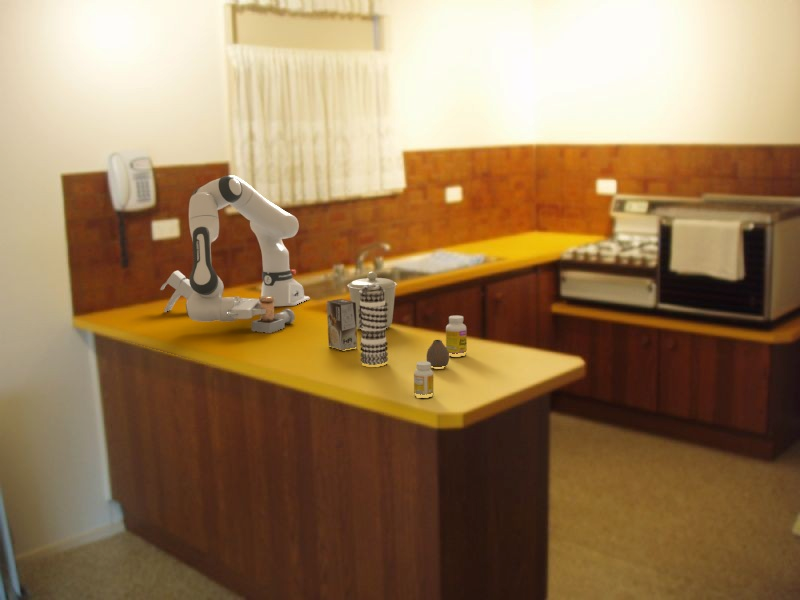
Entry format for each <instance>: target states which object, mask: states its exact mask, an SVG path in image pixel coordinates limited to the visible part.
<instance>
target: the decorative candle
mask: <svg viewBox="0 0 800 600" xmlns="http://www.w3.org/2000/svg"><path fill="white" fill-rule="evenodd" d="M359 292H360V294H361V300H360V306H359V307H360V309H359V310H358V312H359V313H360V314H359V318H360V319H361V320H360V321H359V324H361V325H360V329H361V330H360V329H359V330H360V331H361V336H360V337H361V338H360V340H361V341H360V344H359V345H360V346H361V347H360V351H361V353H360V362H361V363H364V364H368V365H377V364H382V363H385V362H388V360H389V359H388V356H389V355H388V352H387V351H388V341H387V336H386V330H387V329H388V328H387V326H386V325H385V323H386V322H387V319H385V318H386V317H387V314H385V313H384V311H385V312H386V311H387V310H388V309H387V308H384V307H385V306H387V305H388V304H387V303H385V296H384V292H385V290H383V288H382V287H381V286H379V285H366V286H364V287H363V288H362V289H361V290H360V291H359ZM361 315H362V316H361ZM386 328H387V329H386Z"/></svg>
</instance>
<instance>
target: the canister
mask: <svg viewBox="0 0 800 600" xmlns="http://www.w3.org/2000/svg"><path fill="white" fill-rule="evenodd" d="M366 276H367V277H366V278H364V277H363V278H359V279H354V280H353V281H351V282H350V283H348V284H347V288H348V289H349V295H350V296H349V297H350V301H352V302H356V324H357V329H358V328H359V329H358V330H360V325H361V324H359V321H360V320H361V319H360V318H359V314H360V313H359V312H358V310H359V309H360V307H359V306H360V300H361V294H360V292H359V291H360V290H361V289H362V288H363V287H364V286H366V285H379V286H381V287H382V288H383V290H385V292H384V296H385V303H387V304H388V305H387V306H385V307H384V308H387V309H388V310H387V311H386V312H385V311H384V313H385V314H387V317H386V318H385V319H387V322H386V323H385V325H386V326H387V329H389V328H390V327H391V326H392V322H393V319H394V317H393V315H394V308H395V307H394V306H395V295H396V287H397V286H398V283H397V282H395V281H393V280H392V279H389V278H384V277H383V278H382V277H378V274H377V273H376V272H374V271H370V272H368V273H367V275H366ZM361 316H362V315H361ZM388 327H389V328H388Z"/></svg>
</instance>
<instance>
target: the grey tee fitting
mask: <svg viewBox="0 0 800 600" xmlns="http://www.w3.org/2000/svg"><path fill="white" fill-rule="evenodd" d="M295 317H296V316H295V313H294V311H293V309H291V308H285V309H282V310H281V311H280V312H278V313H274V322H271V323H264V322H261V318H259V319H256V320H252V321H250V323H251V331H252V332H255V331H257V332H256V333H263V332H265V333H264V334H273V333H275V331H276V332H279V331H281V330H280V329H282V330H284V329H283V328H286V327H285V325H289V323H290V324H293V322H294V321H295ZM285 323H287V324H285ZM278 330H279V331H278ZM272 332H273V333H272Z"/></svg>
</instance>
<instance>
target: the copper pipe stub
mask: <svg viewBox="0 0 800 600" xmlns="http://www.w3.org/2000/svg"><path fill="white" fill-rule="evenodd" d="M258 299H259V302H260V305H261V308H265V309H266V313H265V314H260V319H261V322H264V323H271V322H274V314H275V306H274V301H275V299H274V297H273V296H263V297H261V296H260V297H258Z"/></svg>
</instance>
